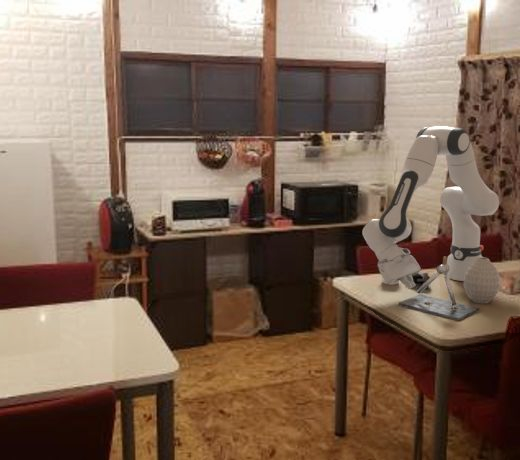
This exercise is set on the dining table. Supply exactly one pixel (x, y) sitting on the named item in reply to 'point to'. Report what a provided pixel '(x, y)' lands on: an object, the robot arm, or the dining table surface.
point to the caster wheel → (420, 279)
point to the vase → (481, 281)
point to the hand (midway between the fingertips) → (412, 287)
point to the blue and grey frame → (440, 303)
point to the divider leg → (433, 277)
